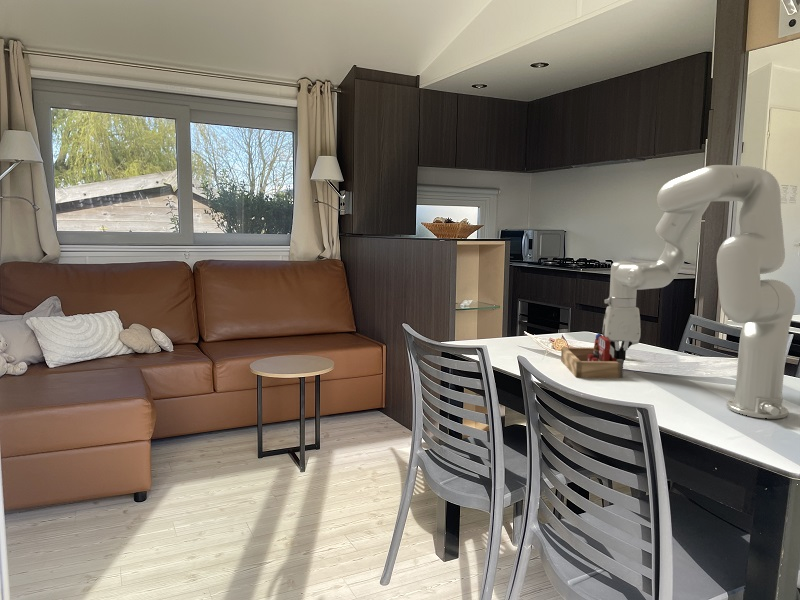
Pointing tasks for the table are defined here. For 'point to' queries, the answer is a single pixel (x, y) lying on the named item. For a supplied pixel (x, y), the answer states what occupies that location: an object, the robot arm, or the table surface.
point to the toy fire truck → (601, 350)
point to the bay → (590, 364)
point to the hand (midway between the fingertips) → (619, 362)
